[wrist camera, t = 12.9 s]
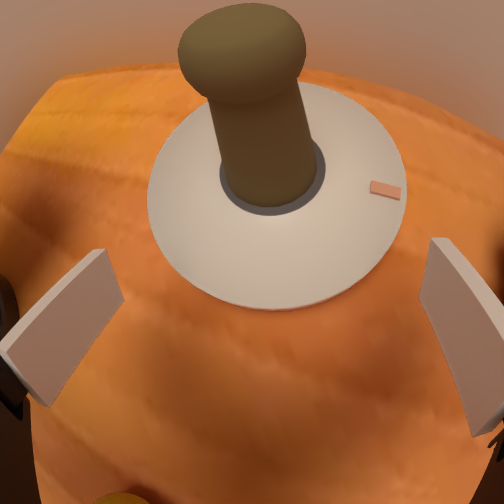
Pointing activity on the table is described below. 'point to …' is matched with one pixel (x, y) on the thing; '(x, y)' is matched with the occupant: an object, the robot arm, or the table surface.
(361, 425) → the table surface
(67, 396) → the table surface
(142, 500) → the lemon
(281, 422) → the table surface
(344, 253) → the turntable
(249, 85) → the cork
